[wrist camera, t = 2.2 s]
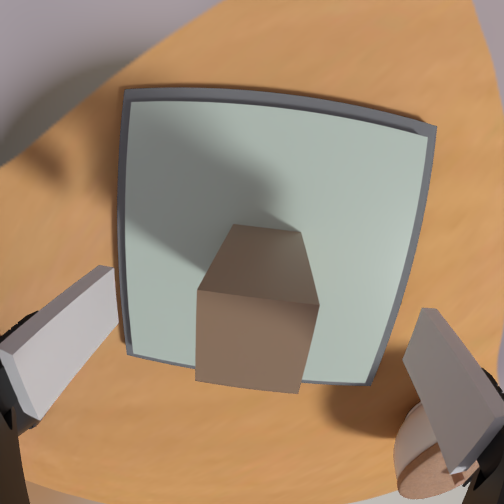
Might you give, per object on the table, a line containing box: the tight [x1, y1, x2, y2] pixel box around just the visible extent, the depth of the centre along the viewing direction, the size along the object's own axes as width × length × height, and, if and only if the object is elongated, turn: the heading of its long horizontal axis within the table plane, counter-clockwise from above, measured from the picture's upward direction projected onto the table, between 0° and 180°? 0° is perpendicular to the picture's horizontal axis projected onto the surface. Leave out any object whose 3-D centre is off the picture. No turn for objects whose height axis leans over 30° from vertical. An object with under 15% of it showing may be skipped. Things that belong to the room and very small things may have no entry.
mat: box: [117, 88, 437, 386], centre depth 21 cm, size 20×20×1 cm
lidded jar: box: [393, 401, 479, 499], centre depth 21 cm, size 11×11×9 cm
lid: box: [125, 101, 428, 394], centre depth 15 cm, size 18×18×10 cm
